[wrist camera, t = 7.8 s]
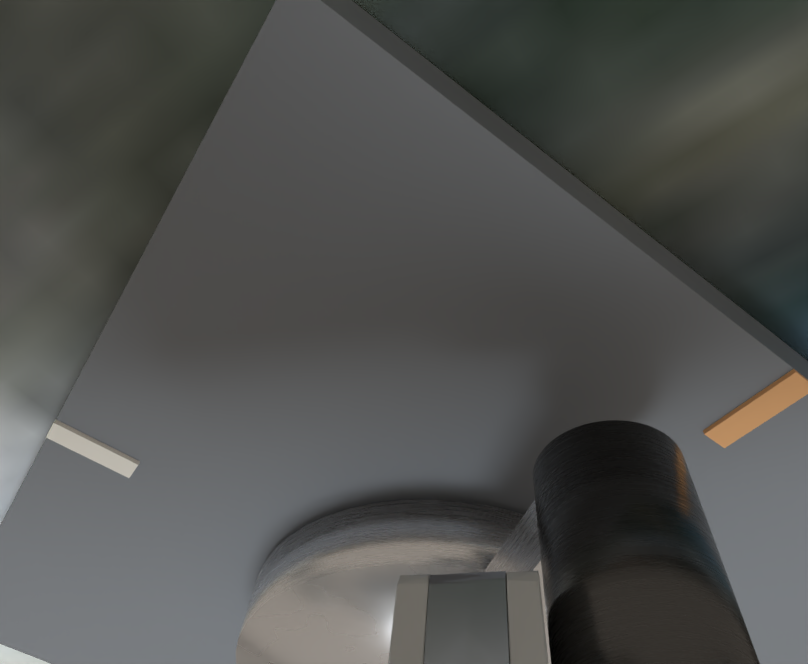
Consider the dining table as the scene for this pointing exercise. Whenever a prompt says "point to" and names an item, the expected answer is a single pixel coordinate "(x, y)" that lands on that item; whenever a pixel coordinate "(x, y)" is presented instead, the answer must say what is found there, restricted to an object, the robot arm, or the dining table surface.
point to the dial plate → (379, 359)
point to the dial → (521, 563)
